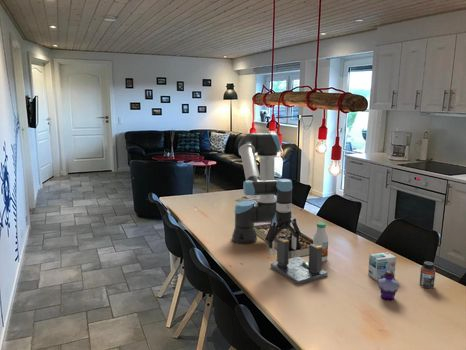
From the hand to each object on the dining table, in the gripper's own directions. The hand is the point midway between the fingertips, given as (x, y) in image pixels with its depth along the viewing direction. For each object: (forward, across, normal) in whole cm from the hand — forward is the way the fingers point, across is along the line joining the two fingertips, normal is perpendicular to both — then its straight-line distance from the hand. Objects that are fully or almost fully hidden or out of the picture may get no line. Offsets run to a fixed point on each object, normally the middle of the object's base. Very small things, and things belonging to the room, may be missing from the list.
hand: (283, 251), depth 194 cm
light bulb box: (+10, +36, -31) cm, 48 cm away
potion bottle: (+10, +22, -46) cm, 52 cm away
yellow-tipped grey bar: (+7, 0, 0) cm, 7 cm away
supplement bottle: (+10, +46, -48) cm, 67 cm away
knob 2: (+7, +9, -14) cm, 18 cm away
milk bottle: (+9, +24, -1) cm, 26 cm away
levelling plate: (+9, +5, -7) cm, 12 cm away
